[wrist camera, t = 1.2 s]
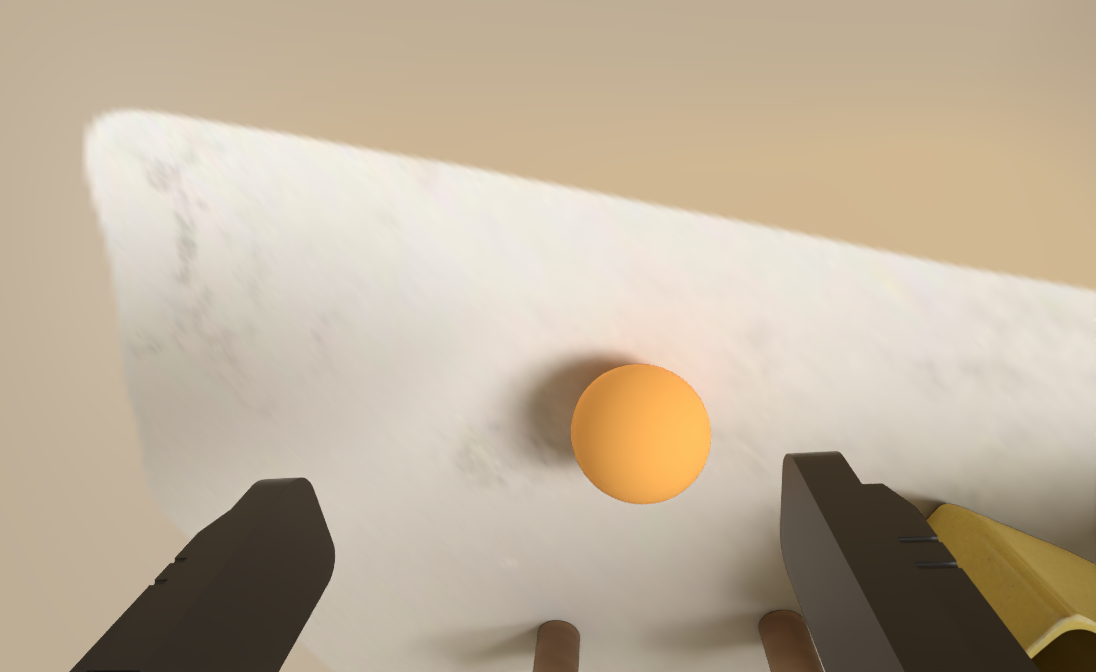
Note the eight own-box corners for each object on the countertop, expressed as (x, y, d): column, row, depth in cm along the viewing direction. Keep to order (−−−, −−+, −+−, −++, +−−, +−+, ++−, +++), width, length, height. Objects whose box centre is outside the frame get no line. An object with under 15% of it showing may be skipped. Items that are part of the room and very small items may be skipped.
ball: (694, 334, 25) (718, 400, 20) (703, 443, 28) (727, 530, 22) (565, 350, 26) (554, 416, 21) (584, 454, 28) (579, 540, 23)
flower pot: (826, 576, 30) (909, 756, 22) (929, 457, 27) (1074, 617, 18) (967, 631, 31) (1099, 826, 23) (1086, 521, 27) (1293, 704, 19)
